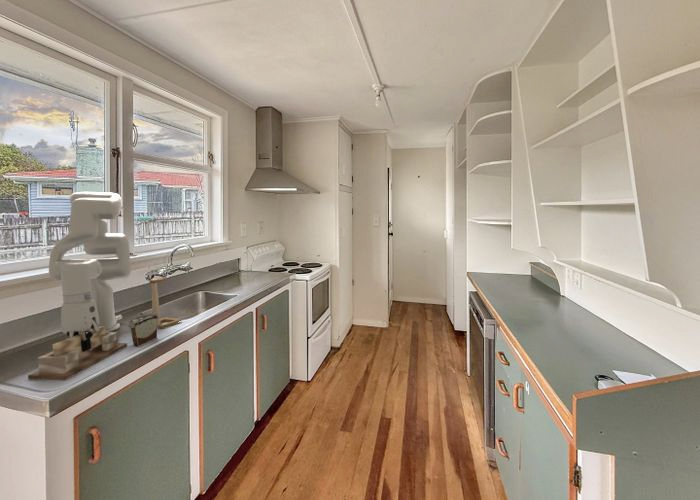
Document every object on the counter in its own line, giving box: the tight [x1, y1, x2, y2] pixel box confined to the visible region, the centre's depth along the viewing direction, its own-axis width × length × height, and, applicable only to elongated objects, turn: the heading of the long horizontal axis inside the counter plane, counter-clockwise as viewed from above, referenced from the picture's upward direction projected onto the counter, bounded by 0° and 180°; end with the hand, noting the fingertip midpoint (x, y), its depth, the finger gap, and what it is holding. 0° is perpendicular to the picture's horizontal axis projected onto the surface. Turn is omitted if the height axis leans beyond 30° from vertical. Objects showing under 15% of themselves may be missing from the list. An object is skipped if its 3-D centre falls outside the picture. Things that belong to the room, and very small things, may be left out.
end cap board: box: [27, 331, 128, 381], centre depth 113 cm, size 26×12×6 cm, turn 177°
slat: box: [52, 326, 105, 357], centre depth 112 cm, size 18×2×6 cm, turn 177°
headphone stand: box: [148, 276, 182, 330], centre depth 150 cm, size 10×11×22 cm
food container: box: [127, 313, 159, 348], centre depth 130 cm, size 12×6×10 cm, turn 168°
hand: (82, 349), depth 113 cm, fingers closed on slat, 2 cm apart
